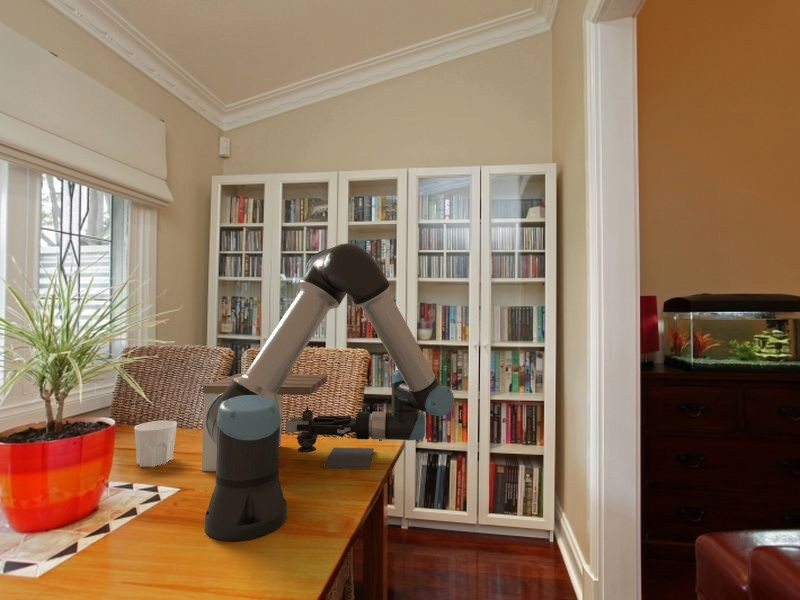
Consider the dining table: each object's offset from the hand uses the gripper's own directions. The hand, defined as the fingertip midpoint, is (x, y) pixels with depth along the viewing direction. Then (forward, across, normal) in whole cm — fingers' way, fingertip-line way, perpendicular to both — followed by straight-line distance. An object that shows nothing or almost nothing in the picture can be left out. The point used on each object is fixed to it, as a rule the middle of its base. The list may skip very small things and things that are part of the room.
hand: (288, 424), depth 116 cm
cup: (+35, -5, -10) cm, 37 cm away
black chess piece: (-5, 0, -7) cm, 9 cm away
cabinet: (+5, 0, -9) cm, 11 cm away
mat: (-18, 0, -10) cm, 20 cm away
